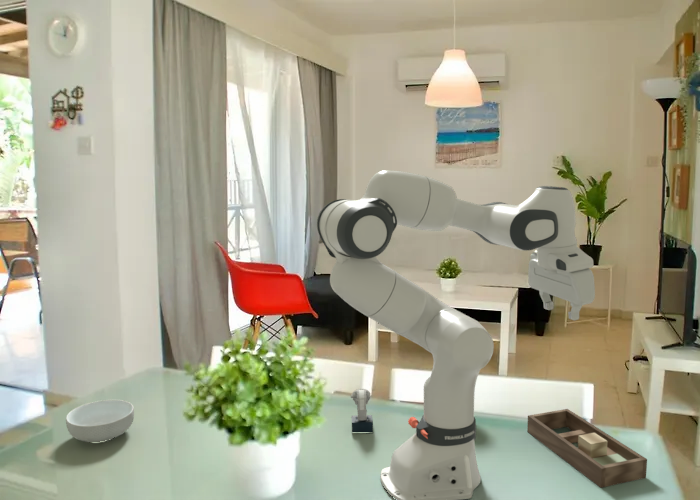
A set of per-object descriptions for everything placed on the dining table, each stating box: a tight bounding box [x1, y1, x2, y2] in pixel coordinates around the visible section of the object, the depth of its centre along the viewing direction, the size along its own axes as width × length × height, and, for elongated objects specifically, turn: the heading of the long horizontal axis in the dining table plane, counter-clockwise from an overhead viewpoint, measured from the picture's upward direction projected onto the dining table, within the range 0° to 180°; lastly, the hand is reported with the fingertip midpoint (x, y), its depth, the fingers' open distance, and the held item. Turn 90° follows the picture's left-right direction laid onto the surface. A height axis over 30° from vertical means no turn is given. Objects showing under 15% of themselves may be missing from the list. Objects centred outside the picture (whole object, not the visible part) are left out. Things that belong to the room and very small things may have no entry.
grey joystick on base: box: [350, 388, 374, 433], centre depth 162 cm, size 6×8×11 cm
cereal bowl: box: [65, 399, 135, 443], centre depth 162 cm, size 17×17×7 cm
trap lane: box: [527, 408, 648, 489], centre depth 147 cm, size 12×28×4 cm, turn 17°
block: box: [577, 433, 607, 458], centre depth 144 cm, size 4×4×4 cm
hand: (561, 314), depth 142 cm, fingers open, 8 cm apart
